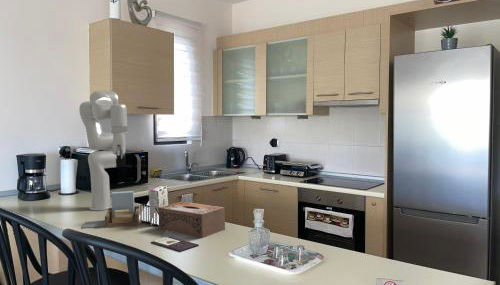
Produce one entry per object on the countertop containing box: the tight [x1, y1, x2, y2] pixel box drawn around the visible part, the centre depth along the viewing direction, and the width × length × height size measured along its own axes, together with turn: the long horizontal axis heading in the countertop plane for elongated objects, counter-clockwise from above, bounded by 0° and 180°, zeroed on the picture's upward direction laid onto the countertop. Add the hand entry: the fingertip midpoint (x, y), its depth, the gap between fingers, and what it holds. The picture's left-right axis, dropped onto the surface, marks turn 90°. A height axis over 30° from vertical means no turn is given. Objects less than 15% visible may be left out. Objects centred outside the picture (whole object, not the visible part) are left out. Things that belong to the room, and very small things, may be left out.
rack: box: [104, 205, 141, 228], centre depth 195 cm, size 14×14×6 cm
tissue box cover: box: [158, 201, 226, 239], centre depth 180 cm, size 26×14×10 cm, turn 54°
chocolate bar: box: [150, 236, 200, 253], centre depth 160 cm, size 9×1×18 cm
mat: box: [81, 219, 105, 229], centre depth 193 cm, size 11×11×1 cm
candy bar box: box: [148, 185, 169, 226], centre depth 193 cm, size 11×5×16 cm, turn 168°
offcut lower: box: [111, 214, 133, 223], centre depth 193 cm, size 4×9×4 cm, turn 102°
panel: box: [110, 190, 135, 221], centre depth 198 cm, size 4×10×14 cm, turn 102°
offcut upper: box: [115, 209, 129, 217], centre depth 193 cm, size 4×6×2 cm, turn 110°
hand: (121, 166), depth 197 cm, fingers open, 9 cm apart
